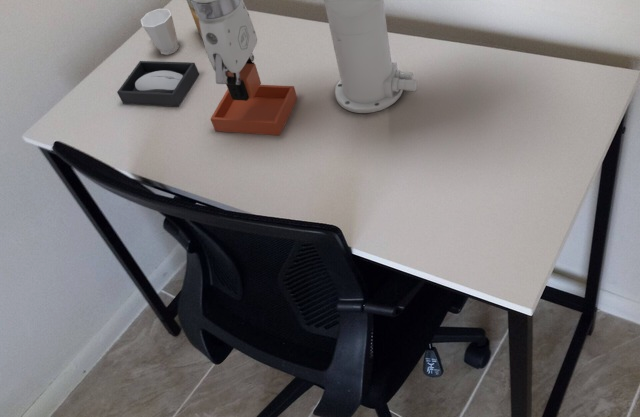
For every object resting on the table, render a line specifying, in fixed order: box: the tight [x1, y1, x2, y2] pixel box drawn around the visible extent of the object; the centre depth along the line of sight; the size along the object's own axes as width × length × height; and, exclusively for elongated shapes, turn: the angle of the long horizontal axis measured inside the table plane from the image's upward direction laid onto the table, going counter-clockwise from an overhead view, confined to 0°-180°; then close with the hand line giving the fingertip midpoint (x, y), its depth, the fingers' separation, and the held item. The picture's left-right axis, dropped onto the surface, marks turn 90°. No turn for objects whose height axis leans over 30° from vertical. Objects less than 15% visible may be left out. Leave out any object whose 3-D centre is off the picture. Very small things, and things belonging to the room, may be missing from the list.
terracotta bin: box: [210, 84, 298, 136], centre depth 121 cm, size 13×10×3 cm
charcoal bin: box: [116, 60, 200, 108], centre depth 132 cm, size 13×10×3 cm
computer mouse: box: [135, 71, 183, 93], centre depth 132 cm, size 6×10×3 cm, turn 85°
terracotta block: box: [225, 63, 262, 99], centre depth 116 cm, size 4×4×4 cm
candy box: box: [186, 0, 202, 37], centre depth 137 cm, size 9×4×15 cm, turn 25°
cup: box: [140, 8, 180, 56], centre depth 140 cm, size 7×10×8 cm
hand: (245, 89), depth 117 cm, fingers closed on terracotta block, 4 cm apart
